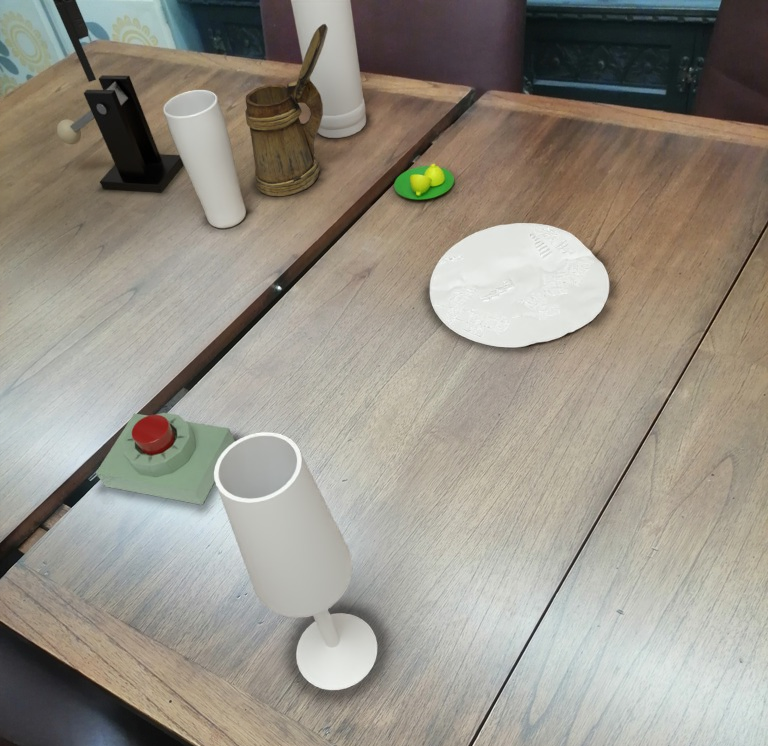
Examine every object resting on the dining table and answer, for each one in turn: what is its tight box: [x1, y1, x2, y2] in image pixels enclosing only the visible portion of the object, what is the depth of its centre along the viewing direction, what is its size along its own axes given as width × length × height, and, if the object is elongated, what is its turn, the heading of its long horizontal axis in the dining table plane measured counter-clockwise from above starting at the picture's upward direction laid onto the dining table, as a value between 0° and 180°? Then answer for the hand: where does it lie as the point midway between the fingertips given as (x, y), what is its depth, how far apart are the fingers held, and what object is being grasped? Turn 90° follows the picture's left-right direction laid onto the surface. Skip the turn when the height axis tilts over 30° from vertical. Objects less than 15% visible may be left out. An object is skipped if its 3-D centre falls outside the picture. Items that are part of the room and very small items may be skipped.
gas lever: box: [56, 82, 128, 145], centre depth 98 cm, size 14×3×3 cm, turn 73°
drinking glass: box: [162, 89, 247, 229], centre depth 88 cm, size 7×7×15 cm
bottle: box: [290, 0, 367, 139], centre depth 93 cm, size 8×8×30 cm
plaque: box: [429, 222, 610, 348], centre depth 78 cm, size 20×20×2 cm
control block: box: [95, 412, 236, 506], centre depth 68 cm, size 11×8×4 cm
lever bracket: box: [83, 74, 184, 194], centre depth 98 cm, size 10×8×13 cm
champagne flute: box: [214, 431, 378, 691], centre depth 46 cm, size 7×7×24 cm
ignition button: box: [132, 414, 175, 455], centre depth 66 cm, size 4×4×2 cm
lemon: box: [393, 163, 455, 200], centre depth 92 cm, size 8×8×3 cm
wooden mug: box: [244, 24, 328, 197], centre depth 91 cm, size 9×14×18 cm, turn 94°
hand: (24, 97), depth 68 cm, fingers open, 13 cm apart
